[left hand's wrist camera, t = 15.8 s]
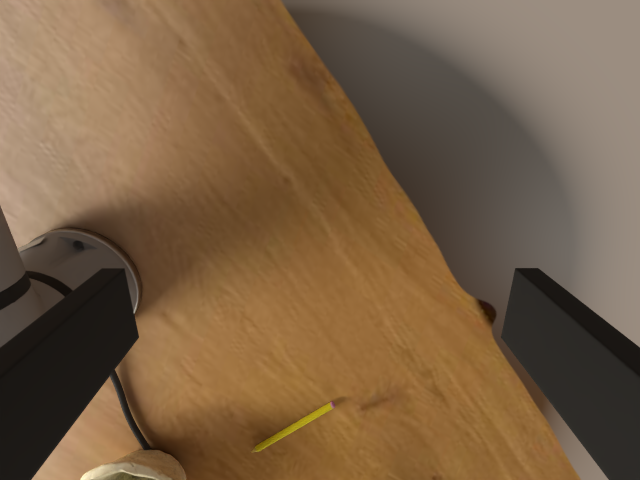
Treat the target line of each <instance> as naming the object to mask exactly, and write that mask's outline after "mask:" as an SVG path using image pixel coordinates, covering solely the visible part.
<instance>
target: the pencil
mask: <svg viewBox="0 0 640 480" xmlns="http://www.w3.org/2000/svg"><path fill="white" fill-rule="evenodd" d="M333 408H335V404H334V402H333V401H331V402H329V403H328V404H326V405H324V406H323V407H321V408H319V409H317V410H316V411H314V412H312V413H311V414H309V415H307V416H305V417H304V418H302V419H300V420H299V421H297V422H295V423H294V424H292V425H290V426H288V427H287V428H285V429H283V430H282V431H280V432H278V433H276V434H275V435H273V436H271V437H270V438H268V439H266V440H264V441H263V442H261V443H259V444H258V445H256V446H255V447H254V449H253V450H252V451H251V452H259V451H260V450H262V449H264V448H266V447H267V446H269V445H271V444H273V443H274V442H276V441H278V440H279V439H281V438H283V437H285V436H286V435H288V434H290V433H292V432H293V431H295V430H297V429H298V428H300V427H302V426H304V425H305V424H307V423H309V422H311V421H312V420H314V419H316V418H317V417H319V416H321V415H323V414H324V413H326V412H328V411H330V410H331V409H333ZM251 452H250V453H251Z"/></svg>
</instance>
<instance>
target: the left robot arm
mask: <svg viewBox="0 0 640 480" xmlns="http://www.w3.org/2000/svg"><path fill="white" fill-rule="evenodd" d="M141 297H142V285H141V280H140V277H139V274H138V271H137V269H136V267H135V265H134V264H133V262H132V261H131V259H130V258H129V257H128V255H127V254H126V253H125V252H124V251H123V250H122V249H121V248H120V247H119V246H117V245H116V244H115V243H113V242H112V241H110V240H109V239H107V238H105V237H103V236H101V235H99V234H97V233H94V232H91V231H88V230H83V229H77V228H62V229H56V230H53V231H50V232H47V233H45V234H43V235H41V236H39V237H37V238H35V239H34V240H32V241H31V242H30V243H28V244H27V245H24V246H22V247H20V248H19V249H17V246H16V244H15V241H14V239H13V236H12V234H11V231H10V229H9V226H8V224H7V221H6V219H5V216H4V214H3V211H2V209H1V206H0V480H31V479H32V478H33V477H34V475H35V474H36V473H37V471H38V470H39V469H40V467H41V466H42V465H43V463H44V462H45V461H46V459H47V458H48V457H49V455H50V454H51V453H52V451H53V450H54V449H55V447H56V446H57V445H58V444H59V442H60V441H61V440H62V438H63V437H64V436H65V434H66V433H67V432H68V430H69V429H70V428H71V426H72V425H73V424H74V422H75V421H76V420H77V418H78V417H79V416H80V414H81V413H82V412H83V410H84V409H85V408H86V407H87V405H88V404H89V403H90V401H91V400H92V399H93V397H94V396H95V395H96V393H97V392H98V391H99V389H100V388H101V387H102V385H103V384H104V383H105V381H106V380H107V379H108V377H109V376H110V378H111V380H112V382H113V384H114V387H115V389H116V392H117V395H118V398H119V401H120V404H121V407H122V410H123V413H124V415H125V418H126V420H127V422H128V424H129V426H130V428H131V430H132V432H133V433H134V435H135V437H136V438H137V440H138V441H139V443H140V444H141V446H142V447H143V449H144V450H151V448H150V446H149V444H148V443H147V441H146V440H145V438H144V437H143V435H142V433H141V432H140V430H139V428H138V427H137V425H136V423H135V421H134V419H133V417H132V414H131V412H130V409H129V407H128V404H127V401H126V397H125V394H124V391H123V388H122V386H121V383H120V380H119V378H118V376H117V374H116V372H115V368H116V367H117V366H118V364H119V363H120V362H121V360H122V359H123V358H124V356H125V355H126V354H127V352H128V351H129V350H130V348H131V347H132V346H133V344H134V343H135V342H136V340H137V339H138V338H139V335H138V330H137V326H136V321H135V316H134V314H135V313H136V311H137V309H138V307H139V305H140V302H141ZM501 338H502V339H503V340H504V342H505V343H506V344H507V346H508V347H509V348H510V350H511V351H512V352H513V354H514V355H515V356H516V358H517V359H518V360H519V362H520V363H521V364H522V366H523V367H524V368H525V370H526V371H527V372H528V374H529V375H530V376H531V377H532V379H533V380H534V381H535V383H536V384H537V385H538V387H539V388H540V389H541V391H542V392H543V393H544V395H545V396H546V397H547V399H548V400H549V401H550V403H551V404H552V405H553V407H554V408H555V409H556V411H557V412H558V413H559V414H560V416H561V417H562V418H563V420H564V421H565V422H566V424H567V425H568V426H569V428H570V429H571V430H572V432H573V433H574V434H575V436H576V437H577V438H578V440H579V441H580V442H581V444H582V445H583V446H584V447H585V449H586V450H587V451H588V453H589V454H590V455H591V457H592V458H593V459H594V461H595V462H596V463H597V465H598V466H599V467H600V469H601V470H602V471H603V473H604V474H605V475H606V476H607V478H608V479H609V480H640V347H638V346H637V345H636V344H635V343H633V342H632V341H631V340H629V339H628V338H627V337H626V336H624V335H623V334H622V333H620V332H619V331H618V330H617V329H615V328H614V327H613V326H611V325H610V324H609V323H608V322H606V321H605V320H604V319H603V318H601V317H600V316H599V315H597V314H596V313H595V312H593V311H592V310H591V309H590V308H588V307H587V306H586V305H585V304H583V303H582V302H581V301H579V300H578V299H577V298H576V297H574V296H573V295H572V294H570V293H569V292H568V291H567V290H565V289H564V288H563V287H561V286H560V285H559V284H558V283H556V282H555V281H554V280H553V279H551V278H550V277H549V276H547V275H546V274H545V273H544V272H542V271H541V270H540V269H538V268H516V269H515V272H514V277H513V282H512V287H511V292H510V297H509V301H508V306H507V311H506V316H505V321H504V326H503V330H502V335H501Z"/></svg>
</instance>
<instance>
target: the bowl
mask: <svg viewBox="0 0 640 480" xmlns="http://www.w3.org/2000/svg"><path fill="white" fill-rule="evenodd" d="M80 480H186V474H185V472H184V469H183V468H182V466H181V465H180V463H179V462H178V460H176V459H175V458H174V457H173V456H171V455H170V454H166V453H164V452H162V451H160V450H139V451H135V452H132V453H130V454H128V455H126V456H124V457H122V458H119V459H117V460H116V461H114V462H111V463H105V464H103V465H100V466H98V467H96V468H94V469H92V470H90V471H88V472H86V473H85V474H84V475H83V477H82V478H81V479H80Z"/></svg>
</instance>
